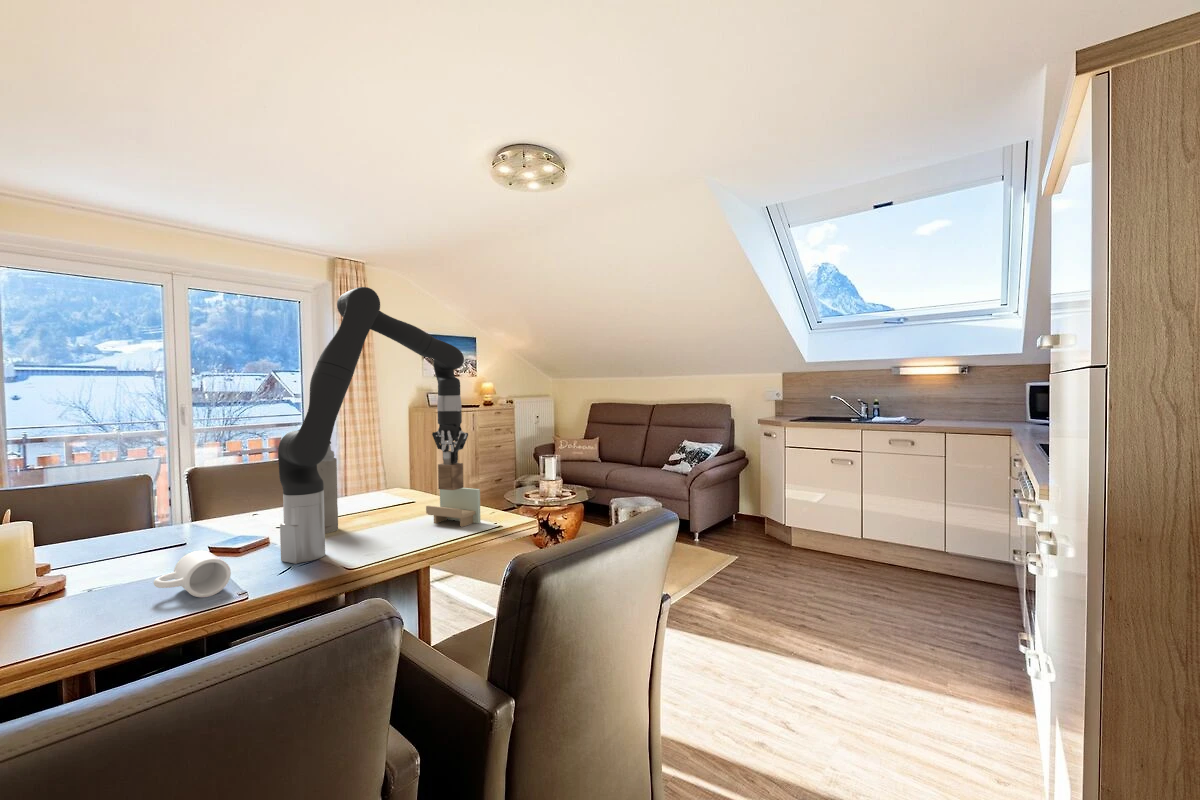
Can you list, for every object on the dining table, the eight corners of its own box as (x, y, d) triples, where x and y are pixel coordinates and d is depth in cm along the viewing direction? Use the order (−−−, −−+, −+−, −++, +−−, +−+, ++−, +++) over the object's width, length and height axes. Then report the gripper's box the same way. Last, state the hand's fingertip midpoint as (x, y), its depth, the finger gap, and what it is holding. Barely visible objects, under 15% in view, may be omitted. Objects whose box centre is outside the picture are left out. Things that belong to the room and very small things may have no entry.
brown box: (452, 490, 163) (451, 452, 163) (438, 489, 166) (437, 452, 166) (463, 487, 168) (462, 451, 168) (449, 486, 170) (448, 450, 170)
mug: (217, 580, 119) (217, 546, 118) (231, 591, 112) (230, 554, 112) (149, 597, 109) (148, 560, 109) (160, 609, 103) (159, 570, 103)
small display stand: (462, 529, 160) (462, 494, 160) (424, 524, 167) (423, 490, 167) (480, 522, 168) (479, 489, 168) (442, 518, 175) (442, 485, 174)
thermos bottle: (308, 535, 156) (305, 443, 155) (310, 529, 163) (308, 441, 162) (337, 531, 159) (335, 441, 158) (338, 525, 166) (336, 439, 166)
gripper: (424, 410, 166) (425, 463, 166) (458, 410, 160) (459, 465, 160) (441, 409, 173) (442, 460, 173) (474, 409, 167) (475, 462, 167)
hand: (450, 462), depth 167 cm, fingers closed on brown box, 2 cm apart
